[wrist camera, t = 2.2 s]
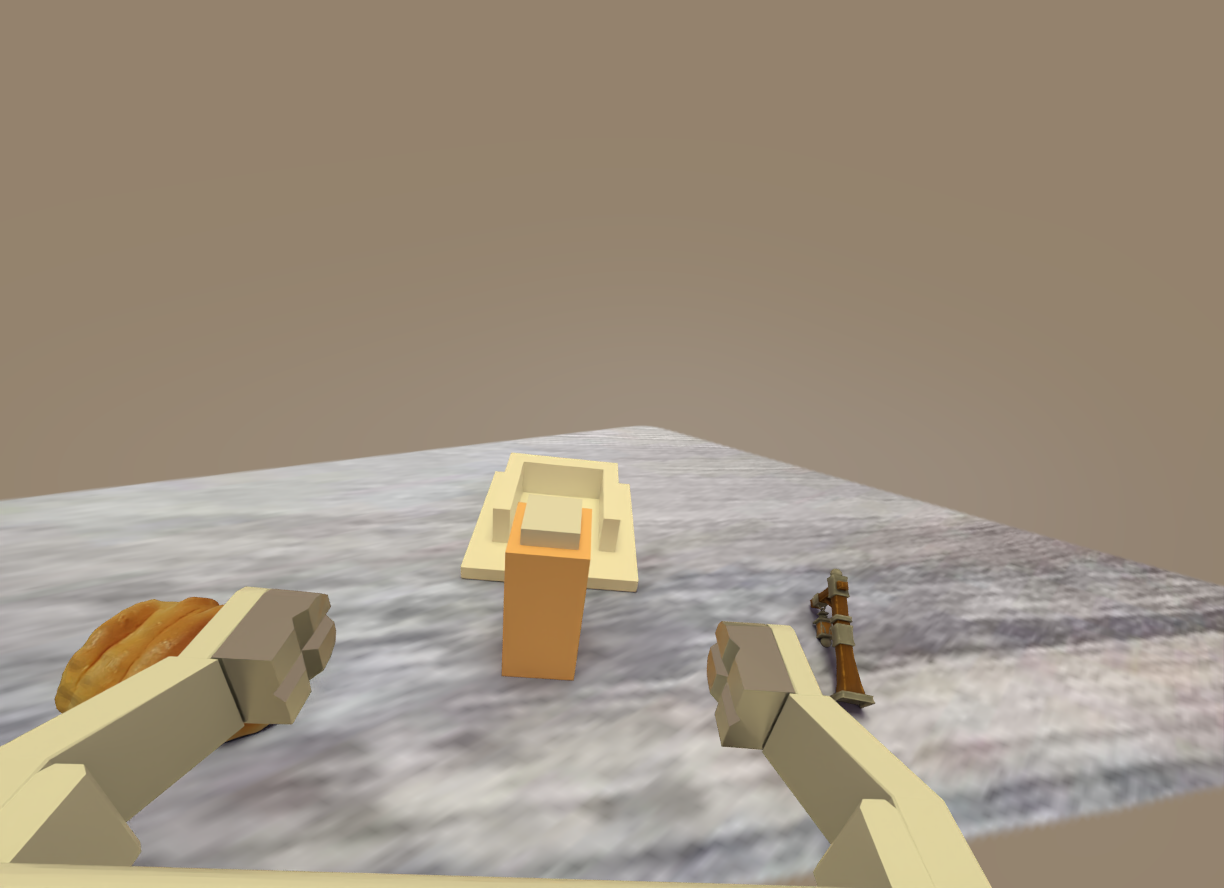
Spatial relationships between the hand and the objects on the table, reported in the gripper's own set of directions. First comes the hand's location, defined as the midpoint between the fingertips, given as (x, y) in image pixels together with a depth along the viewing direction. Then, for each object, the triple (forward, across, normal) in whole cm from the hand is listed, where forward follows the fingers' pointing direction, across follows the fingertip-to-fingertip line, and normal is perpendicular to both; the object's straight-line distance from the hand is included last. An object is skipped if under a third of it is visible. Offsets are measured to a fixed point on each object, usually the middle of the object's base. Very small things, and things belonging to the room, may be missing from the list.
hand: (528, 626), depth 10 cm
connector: (+12, 0, +16) cm, 20 cm away
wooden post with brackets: (+13, -18, +17) cm, 28 cm away
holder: (+23, 0, +16) cm, 28 cm away
